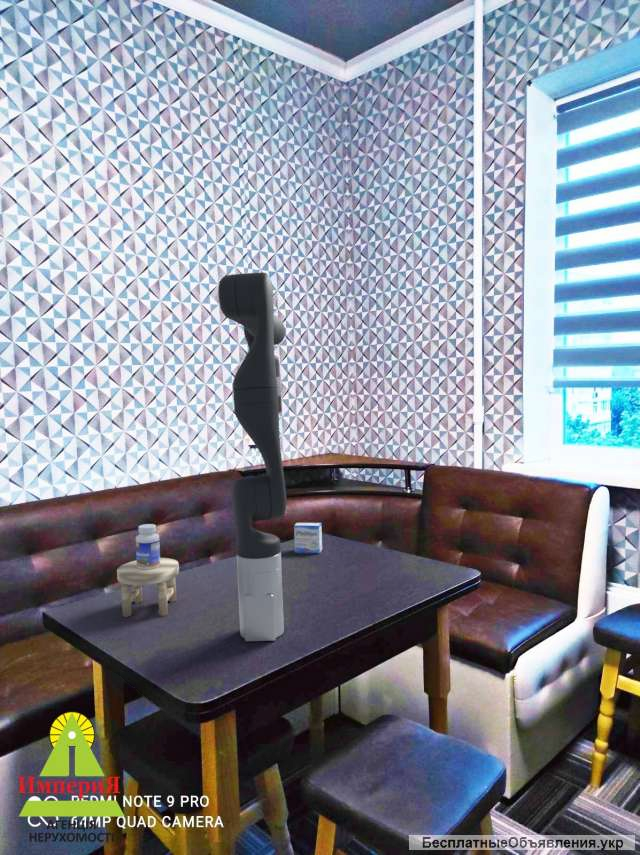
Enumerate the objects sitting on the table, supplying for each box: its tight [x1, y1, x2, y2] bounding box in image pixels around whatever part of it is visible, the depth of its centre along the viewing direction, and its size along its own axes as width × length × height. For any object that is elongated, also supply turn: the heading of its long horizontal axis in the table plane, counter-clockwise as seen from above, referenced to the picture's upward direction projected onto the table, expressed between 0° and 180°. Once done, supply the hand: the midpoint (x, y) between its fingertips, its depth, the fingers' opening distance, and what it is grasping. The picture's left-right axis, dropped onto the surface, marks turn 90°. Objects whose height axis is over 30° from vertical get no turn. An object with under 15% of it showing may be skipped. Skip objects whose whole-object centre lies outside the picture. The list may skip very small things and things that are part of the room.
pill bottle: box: [135, 523, 161, 569], centre depth 142 cm, size 5×5×10 cm
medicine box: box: [293, 522, 323, 554], centre depth 185 cm, size 8×4×9 cm, turn 81°
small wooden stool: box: [116, 557, 180, 618], centre depth 143 cm, size 14×14×10 cm
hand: (269, 456), depth 159 cm, fingers open, 8 cm apart
